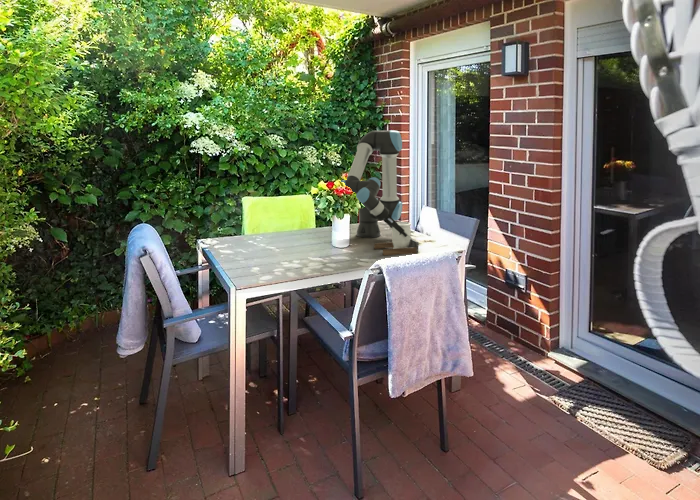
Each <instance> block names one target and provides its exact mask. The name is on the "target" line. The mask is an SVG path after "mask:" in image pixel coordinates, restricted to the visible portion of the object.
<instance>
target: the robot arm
mask: <svg viewBox="0 0 700 500" xmlns="http://www.w3.org/2000/svg"><path fill="white" fill-rule="evenodd" d="M402 150H403V139H402V135H401V133H400V132H399V131H398V130H389V129H388V130H371V131H369V132H367V133H366V134H365V135H364V136H362V137H361V139H360V140H359V141H358V143H357V146H356V154H355V156H354V157H353V158H354V159H353V162H352V164H351V167H350V169H349V172H348V175H347V177H346V179H347V180H346V179H342V180H340V182H344V183H345V185H346V186H348V187H350V188H351V189H352V191H353V192H355V193H356V194H355V195H356V196H355V197H356V199H357V200H358V201H359V203H360V202H361V203H362V204H363V205H364V206H365V208H363V209H360V210H359V209H358V212H359V213H358V215H359V216H358V217H359V220H358V221H359V222H358V227H357V230H356V236H357V237H359V238H366V239H367V238H379V237H380V236H381V228H380V227H379V221H381V222H382V221H383V222H385V224H387V225H388V226H389V228H390V229H392V227H394V228H395V229H396V230H397V231H398V232H399V233H400V235H402V236H403V237H404V238H405V239H406V240H407V241H408V242H409V241H410V239H411V238H412V236H411V237H410V236H409V235H408V234H407V233H406V232H405V230H404V229H403V228H401V227H400V226H399V225H398V224H397V223H396V222H397V221H398V220H399V219H400V218H401V215H402V211H403V202H402V201H400V197H398V190H397V189H398V187H397V186H398V185H397V184H398V183H397V182H398V181H397V180H398V179H397V178H398V177H397V172H398V171H397V170H398V169H397V168H398V167H397V164H398V162H397V160H398V159H397V156H398V155H399V154H400V152H401V151H402ZM374 151H375V152H376V151H379V155H380V156H381V163H382V165H381V171H382V172H381V175H382V181H380V179H379V178H378V177H374V176H373V177H370V178H369V179H367V180H361V179H362V177H363V173H364V171H365V169H366V165H367V162H368V159H369V157H370V156H371V155H372V154H373V152H374ZM381 182H382V196H381V197H380V199H379V198H377V195H378V193H379V191H380V188H381Z"/></svg>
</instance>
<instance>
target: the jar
mask: <svg viewBox="0 0 700 500" xmlns="http://www.w3.org/2000/svg"><path fill="white" fill-rule="evenodd" d="M395 222H396V223H397V224H398V225H399V226H400V227H401V228H403V229H404V230H405V232H406V233H407V234H408V235H409V236H410V237H411V238H412V230H411V226H412V223H411V222H408V221H395ZM391 240H392V241H391V242H393V245H394V248H392V249H397V248H408V245H409V242H410V241H409V242H408V241H407V240H406V239H405V238H404V237H403V236H402V235H400V233H399V232H398V231H397V230H396V229H395V228H394V227H392V228H391Z"/></svg>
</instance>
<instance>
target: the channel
mask: <svg viewBox="0 0 700 500" xmlns="http://www.w3.org/2000/svg"><path fill="white" fill-rule="evenodd" d="M373 245H374V246H373V248H374V250H379V249H382V256H392V255H408V254H418V253H419V241H417V240H415V239H414V238H412V237H411V239H410V242H409V245H408V248H397V249H393V248H394V245H393V242H392V241H391V242H375V243H374V244H373Z"/></svg>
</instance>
